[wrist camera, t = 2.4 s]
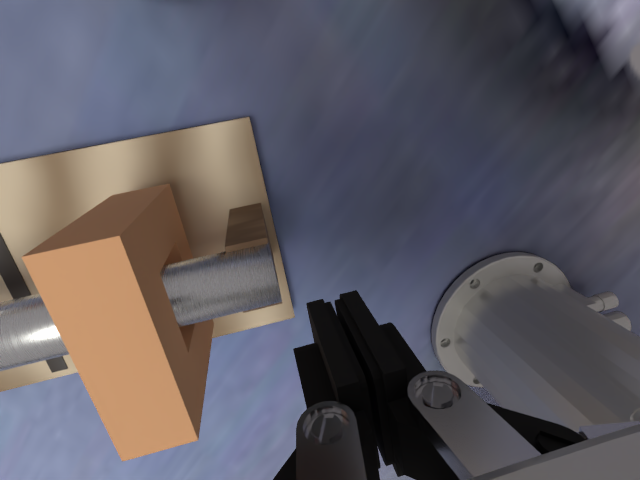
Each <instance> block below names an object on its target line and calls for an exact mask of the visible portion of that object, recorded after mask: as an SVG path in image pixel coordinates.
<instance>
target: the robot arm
mask: <svg viewBox="0 0 640 480" xmlns="http://www.w3.org/2000/svg"><path fill="white" fill-rule="evenodd" d="M618 304H619V302H618V298H617V297H616V295H615V294H613V293H612V292H609V291H607V292H604V293H600V294H596V295H593V296H592V297H588V298H587V297H585V296H583V295H581V294H580V293H578V292H576V291H574V290H572V289H571V287H570V284H569V281H568V280H567V278H566V276H565V275H564V273H563V272H562V271H561V270H560V269H559V268H558V267H557V266H556V265H554V264H553V263H551V262H549V261H547V260H546V259H544V258H541V257H539V256H536V255H534V254H530V253H524V252H510V253H503V254H499V255H495V256H492V257H490V258H487V259H485V260H483V261H481V262H479V263H477V264H476V265H474V266H473V267H471V268H469V269H468V270H466V271H465V272H464V273H463V274H462V275H461V276H460V277H459V278H457V279H456V280H455V281H454V283H453V284H452V285H451V286H450V288H449V289H448V290H447V291H446V293H445V294H444V296H443V298H442V299H441V301H440V303H439V305H438V307H437V310H436V312H435V315H434V318H433V324H432V329H431V334H432V345H433V349H434V353H435V355H436V357H437V359H438V361H439V362H440V364H441V365H442V366H443V367H444V369H445V370H446V371H447V372H443V371H426V370H425V369H424V367H423V366H422V364H421V363H420V361H419V360H418V359H417V357H416V356H415V354H414V353H413V351H412V350H411V349H410V347H409V346H408V344H407V343H406V342H405V340H404V339H403V337H402V336H401V334H400V333H399V332H398V330H397V329H396V327H395V326H394V325H393V324H392V323H387V324H383V325H378V323H377V322H376V320H375V319H374V317H373V315H372V314H371V312H370V311H369V309H368V308H367V306H366V304H365V303H364V301H363V300H362V298H361V297H360V295H359V293H358V292H357V291H356V290H355V291H352V292H348V293H344V294H340V299H338V300H335V306H336V312H337V315H336V313H335V311H334V308H333V306H332V304H331V302H327V303H324V300H323V299H320V300H317V301H313V302H309V303H307V310H308V314H309V319H310V324H311V328H312V333H313V338H314V343H313V344H309V345H306V346H302V347H298V348H294V349H293V350H294V354H295V358H296V363H297V367H298V371H299V376H300V380H301V384H302V389H303V393H304V397H305V402H306V406H307V410H306V411H305V412H304V413H303V414H302V415H301V417H300V418H299V420H298V423H297V428H296V449H295V450H294V452H293V453H292V454H291V456H290V457H289V459H288V460H287V461H286V463H285V464H284V465H283V467H282V468H281V469H280V471H279V472H278V473H277V475H276V476H275V478H274V479H273V480H380V477H379V471H378V468H380V460H379V454H378V449H379V451H380V453H381V456H382V458H383V461H384V463H385V465H386V466H388V465H391V464H393V467H394V469H395V471H396V474H397V476H398V477H399V476H403V475H406V476H409V477H411V478H413V479H416V480H640V337H639V336H638V335H636V334H634V333H633V332H631V322H630V320H629V319H628V317H627V316H626V315H625V314H623V313H622V312H619V311H614V312H611V313H607V314H604V315H602V314H600V313H598V311H600V312H601V311H605V310H609V309H612V308H615V307H617V306H618ZM467 385H469V386H473V387H484V388H485V389H486V390H487V391H488V392H489V394H490V395H491V396H492V397H493V398H494V399H495V401H496V402H497V403H498V404H499V405H500V406H501V407H498V406H495V405H492V404H488V403H485V402H484V401H483V400H482V399H481V398H480V397H479V396H478V395H477V394H476V393H475V392H474V391H472V390H471V389H470V388H469V387H468V386H467ZM377 446H378V448H377Z"/></svg>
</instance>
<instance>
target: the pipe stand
mask: <svg viewBox="0 0 640 480" xmlns="http://www.w3.org/2000/svg"><path fill="white" fill-rule="evenodd" d="M164 184H170V187H171V190H172V193H173V196H174V200H175V203H176V206H177V209H178V212H179V215H180V218H181V222H182V225H183V228H184V231H185V234H186V237H187V240H188V244H189V247H190V250H191V253H192V256H193V258H198V257H202V256H207V255H211V254H215V253H220V252H224V251H226V253H228V252H232V251H237V250H241V249H245V248H250V247H254V246H259V245H263V244H267V243H269V247H270V250H271V255H272V259H273V263H274V267H275V272H276V277H277V281H278V286H279V290H280V295H281V299H282V302H279V303H275V304H271V305H267V306H263V307H259V308H255V309H251V310H247V311H243V312H239V313H234V314H230V315H226V316H222V317H218V318H214V319H213V322H214V327H213V335H212V338H215V337H219V336H223V335H227V334H231V333H235V332H239V331H243V330H247V329H251V328H255V327H259V326H263V325H267V324H270V323H274V322H278V321H282V320H286V319H290V318H294V317H295V315H294V311H293V307H292V302H291V298H290V294H289V289H288V285H287V280H286V276H285V272H284V267H283V263H282V258H281V254H280V250H279V245H278V241H277V236H276V232H275V228H274V223H273V219H272V215H271V210H270V206H269V201H268V197H267V193H266V188H265V184H264V179H263V175H262V171H261V166H260V162H259V157H258V153H257V149H256V144H255V140H254V136H253V131H252V127H251V122H250V118H249V117H244V118H238V119H233V120H228V121H222V122H217V123H212V124H206V125H201V126H196V127H191V128H185V129H180V130H175V131H169V132H164V133H159V134H153V135H148V136H143V137H137V138H132V139H127V140H122V141H116V142H111V143H106V144H100V145H95V146H90V147H84V148H79V149H74V150H68V151H63V152H58V153H53V154H47V155H42V156H37V157H31V158H26V159H21V160H15V161H10V162H5V163H0V302H4V301H9V300H13V299H18V298H22V297H26V296H31V295H35V294H39V292H38V290H37V288H36V286H35V284H34V282H33V280H32V278H31V276H30V274H29V271H28V269H27V267H26V265H25V263H24V261H23V259H22V256H23V255H25V254H26V253H28V252H29V251H31V250H32V249H34V248H35V247H37V246H38V245H40V244H41V243H43V242H44V241H45V240H47V239H48V238H50V237H51V236H53V235H54V234H56V233H57V232H59V231H60V230H62V229H63V228H65V227H66V226H68V225H69V224H70V223H72V222H73V221H75V220H76V219H78V218H79V217H81V216H82V215H84V214H85V213H87V212H88V211H90V210H91V209H93V208H94V207H95V206H97V205H98V204H100V203H101V202H103V201H104V200H106V199H107V198H109V197H110V196H112V195H115V194H120V193H125V192H130V191H135V190H140V189H145V188H149V187H154V186H159V185H164ZM77 372H78V371H77V369H76V367H75V365H74V363H73V361H72V359H71V357H70V354H68V355H64V356H60V357H56V358H52V359H48V360H44V361H40V362H36V363H32V364H28V365H24V366H20V367H16V368H12V369H8V370H4V371H0V392H1V391H5V390H9V389H13V388H17V387H21V386H25V385H29V384H33V383H37V382H41V381H45V380H49V379H53V378H57V377H61V376H65V375H69V374H73V373H77Z"/></svg>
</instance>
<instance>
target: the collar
mask: <svg viewBox="0 0 640 480" xmlns="http://www.w3.org/2000/svg"><path fill="white" fill-rule="evenodd" d="M22 259H23V261H24V263H25V265H26V267H27V269H28V271H29V274H30V276H31V278H32V280H33V282H34V284H35V286H36V288H37V290H38V292H39V294H40V296H41V298H42V300H43V302H44V304H45V306H46V308H47V310H48V312H49V314H50V316H51V318H52V320H53V322H54V324H55V326H56V328H57V330H58V332H59V334H60V336H61V338H62V340H63V342H64V344H65V346H66V348H67V350H68V352H69V354H70V357H71V359H72V361H73V363H74V365H75V367H76V369H77V371H78V373H79V375H80V377H81V379H82V381H83V383H84V385H85V387H86V389H87V391H88V393H89V395H90V397H91V399H92V401H93V403H94V405H95V407H96V409H97V411H98V413H99V415H100V417H101V419H102V421H103V423H104V425H105V427H106V429H107V431H108V433H109V435H110V437H111V440H112V442H113V444H114V446H115V448H116V450H117V452H118V454H119V456H120V458H121V460H122V461H126V460H130V459H133V458H137V457H140V456H144V455H147V454H151V453H154V452H158V451H161V450H165V449H169V448H172V447H176V446H179V445H183V444H186V443H190V442H193V441H197V440H198V438H199V430H200V423H201V416H202V408H203V401H204V394H205V386H206V379H207V371H208V364H209V357H210V349H211V342H212V335H213V327H214V322H213V319H210V320H206V321H202V322H198V323H194V324H190V325H186V326H182V327H179V326H178V323H177V320H176V317H175V314H174V312H173V309H172V306H171V303H170V300H169V298H168V295H167V292H166V289H165V286H164V284H163V281H162V278H161V275H160V272H161V270H162V268H163V266H164V265H167V264H171V263H176V262H180V261H185V260H189V259H193V256H192V253H191V250H190V247H189V244H188V240H187V237H186V234H185V231H184V228H183V225H182V222H181V218H180V215H179V212H178V209H177V206H176V203H175V200H174V196H173V193H172V190H171V187H170V184H164V185H159V186H154V187H149V188H145V189H140V190H135V191H130V192H125V193H120V194H115V195H112V196H110V197H109V198H107V199H106V200H104V201H103V202H101V203H100V204H98V205H97V206H95V207H94V208H93V209H91V210H90V211H88V212H87V213H85V214H84V215H82V216H81V217H79V218H78V219H76V220H75V221H73V222H72V223H70V224H69V225H68V226H66V227H65V228H63V229H62V230H60V231H59V232H57V233H56V234H54V235H53V236H51V237H50V238H48V239H47V240H45V241H44V242H43V243H41V244H40V245H38V246H37V247H35V248H34V249H32V250H31V251H29V252H28V253H26V254H25V255H23V256H22Z"/></svg>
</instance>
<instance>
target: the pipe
mask: <svg viewBox="0 0 640 480" xmlns="http://www.w3.org/2000/svg"><path fill="white" fill-rule="evenodd" d="M160 275H161V278H162V281H163V284H164V286H165V289H166V292H167V295H168V298H169V300H170V303H171V306H172V309H173V312H174V314H175V317H176V320H177V323H178V326H179V327H182V326H186V325H190V324H194V323H198V322H202V321H206V320H210V319H214V318H218V317H222V316H226V315H230V314H234V313H239V312H243V311H247V310H251V309H255V308H259V307H263V306H267V305H271V304H275V303H279V302H282V299H281V295H280V290H279V286H278V281H277V277H276V272H275V267H274V263H273V259H272V255H271V250H270V247H269V243H267V244H263V245H259V246H254V247H250V248H245V249H241V250H237V251H232V252H228V253H226V251H224V252H220V253H215V254H211V255H207V256H202V257H198V258H193V259H189V260H185V261H180V262H176V263H171V264H167V265H164V266H163V268H162V270H161V272H160ZM68 354H69V352H68V350H67V348H66V346H65V344H64V342H63V340H62V338H61V336H60V334H59V332H58V330H57V328H56V326H55V324H54V322H53V320H52V318H51V316H50V314H49V312H48V310H47V308H46V306H45V304H44V302H43V300H42V298H41V296H40V294H35V295H31V296H26V297H22V298H18V299H13V300H9V301H4V302H0V371H4V370H8V369H12V368H16V367H20V366H24V365H28V364H32V363H36V362H40V361H44V360H48V359H52V358H56V357H60V356H64V355H68Z"/></svg>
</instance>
